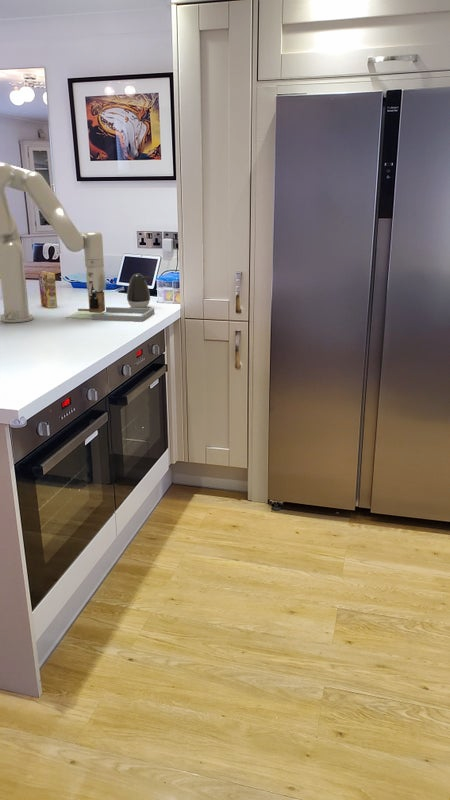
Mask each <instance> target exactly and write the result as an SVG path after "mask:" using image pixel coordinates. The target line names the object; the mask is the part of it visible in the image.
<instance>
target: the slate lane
mask: <svg viewBox="0 0 450 800" xmlns="http://www.w3.org/2000/svg"><path fill="white" fill-rule="evenodd" d="M105 312H106V313H115V314H102V315H99V314H93V315H92V319H91V320H92V321H93V320H94V321H116V322H117V321H118V322H121V321H122V322H144V321H145V320H147V319H148V318H150V317H152V315H154V314H155V308H147V307H145V308H132V307H119V306H118V307H114V306H105ZM116 313H118V314H116ZM120 313H121V314H120ZM124 314H141V315H124Z"/></svg>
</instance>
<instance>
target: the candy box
mask: <svg viewBox="0 0 450 800" xmlns="http://www.w3.org/2000/svg"><path fill="white" fill-rule="evenodd" d="M38 283H39V284H38V285H39V295H40V296H39V297H40V306H41V307H44V308H48V309H55V308H58V301H57V286H56V274H55V273H54V272H50V271H45V270H44V271H38Z"/></svg>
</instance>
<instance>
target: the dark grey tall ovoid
mask: <svg viewBox="0 0 450 800" xmlns="http://www.w3.org/2000/svg"><path fill="white" fill-rule="evenodd" d="M149 278H150V276H149V275H146V276H144V275H142V274H141V273H139V272H138V273H135V274H133V275H132V276H131V278H130V280H129V284H128V285H127V291H126V296H127V297H126V301H127V303H128V305H129V306H130V308H147V307H148V306H149V305H150V304H149V303H150V300H151V295H150V294H151V293H150V290H149V286H148V283H147V281H146V280H148V279H149Z"/></svg>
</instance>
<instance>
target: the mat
mask: <svg viewBox="0 0 450 800" xmlns="http://www.w3.org/2000/svg"><path fill="white" fill-rule="evenodd" d="M106 313H107V312H106V311H103V312H101V313H94V312H89V311H78V310H77V312H74V313H72V314H69V315H68V316H66V317H65V318H66V319H86V320H92V315H93V314H99V315H105V314H106Z"/></svg>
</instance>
